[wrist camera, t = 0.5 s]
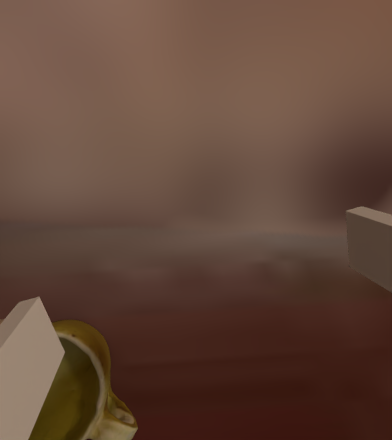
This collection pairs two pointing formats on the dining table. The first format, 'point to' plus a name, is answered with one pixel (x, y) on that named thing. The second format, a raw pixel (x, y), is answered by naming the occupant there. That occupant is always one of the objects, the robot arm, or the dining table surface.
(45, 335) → the robot arm
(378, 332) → the dining table surface
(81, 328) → the mug
